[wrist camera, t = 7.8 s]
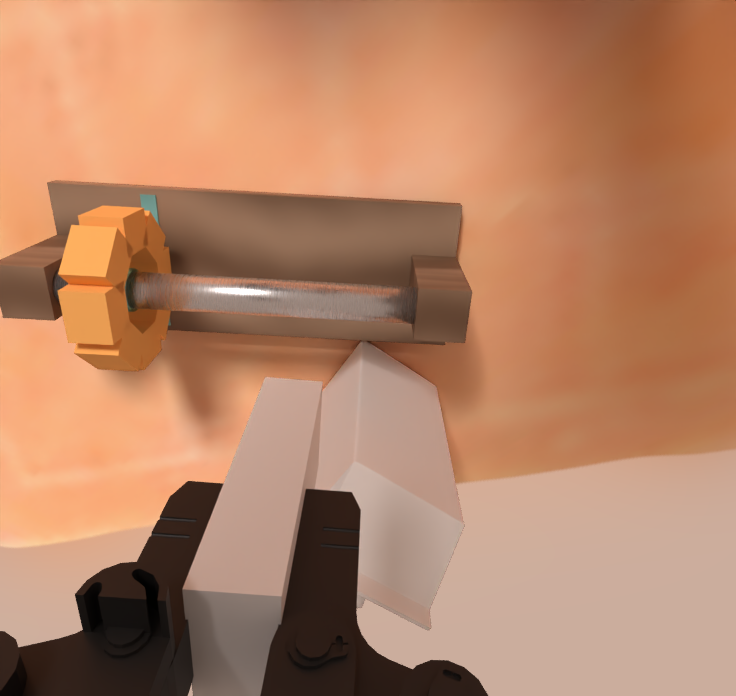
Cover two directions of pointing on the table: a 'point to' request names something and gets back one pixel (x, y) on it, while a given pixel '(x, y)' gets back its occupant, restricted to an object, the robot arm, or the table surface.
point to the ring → (112, 287)
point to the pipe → (265, 297)
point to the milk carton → (392, 478)
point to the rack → (272, 255)
